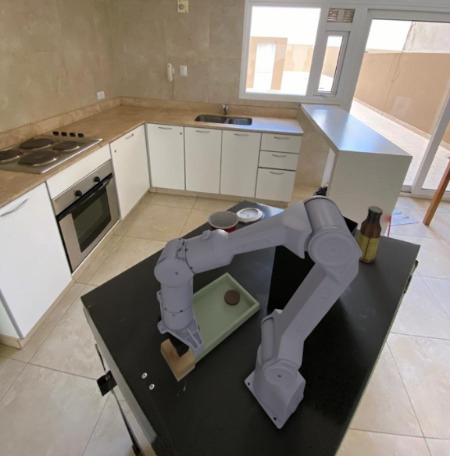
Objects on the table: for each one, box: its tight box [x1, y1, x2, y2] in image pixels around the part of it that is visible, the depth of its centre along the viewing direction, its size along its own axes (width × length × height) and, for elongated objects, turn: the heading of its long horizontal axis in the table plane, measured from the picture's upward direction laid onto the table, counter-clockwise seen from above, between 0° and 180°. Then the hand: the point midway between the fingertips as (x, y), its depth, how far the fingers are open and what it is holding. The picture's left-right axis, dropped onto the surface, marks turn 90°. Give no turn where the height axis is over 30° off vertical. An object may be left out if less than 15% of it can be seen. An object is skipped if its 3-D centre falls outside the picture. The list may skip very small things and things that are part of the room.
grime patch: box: [225, 290, 240, 305], centre depth 71 cm, size 4×4×1 cm
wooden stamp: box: [160, 338, 196, 382], centre depth 52 cm, size 7×4×8 cm, turn 41°
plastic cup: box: [207, 210, 240, 233], centre depth 90 cm, size 11×11×12 cm
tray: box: [189, 272, 261, 364], centre depth 67 cm, size 14×22×2 cm, turn 130°
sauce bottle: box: [356, 205, 383, 264], centre depth 86 cm, size 6×6×20 cm
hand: (179, 346), depth 52 cm, fingers closed on wooden stamp, 2 cm apart
